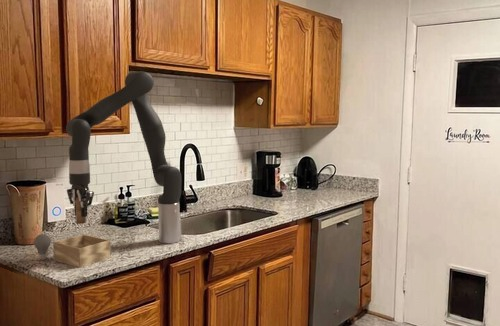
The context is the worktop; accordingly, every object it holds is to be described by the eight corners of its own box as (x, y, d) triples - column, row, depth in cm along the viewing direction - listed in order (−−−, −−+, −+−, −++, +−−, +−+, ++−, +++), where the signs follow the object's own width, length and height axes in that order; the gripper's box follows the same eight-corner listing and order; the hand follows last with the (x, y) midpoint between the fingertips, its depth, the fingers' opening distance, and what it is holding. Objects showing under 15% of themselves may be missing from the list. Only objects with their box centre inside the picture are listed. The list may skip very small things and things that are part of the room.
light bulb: (48, 261, 182) (47, 236, 181) (32, 262, 182) (31, 236, 181) (53, 257, 188) (52, 232, 187) (37, 257, 188) (36, 232, 187)
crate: (84, 251, 196) (83, 234, 195) (110, 257, 187) (110, 240, 186) (54, 260, 184) (53, 242, 184) (80, 267, 176) (79, 248, 175)
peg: (82, 221, 187) (81, 196, 186) (87, 222, 185) (86, 196, 184) (74, 223, 184) (73, 197, 183) (80, 224, 182) (79, 198, 181)
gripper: (99, 172, 181) (101, 216, 183) (76, 169, 189) (77, 212, 191) (83, 174, 175) (84, 220, 177) (59, 171, 183) (61, 215, 185)
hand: (80, 215), depth 184 cm, fingers closed on peg, 3 cm apart
